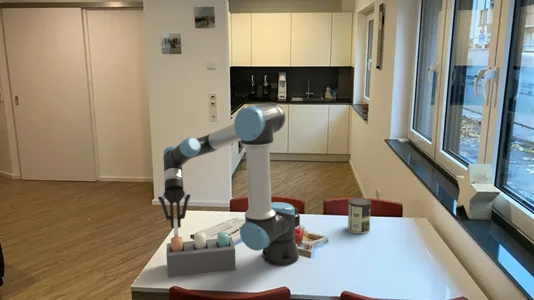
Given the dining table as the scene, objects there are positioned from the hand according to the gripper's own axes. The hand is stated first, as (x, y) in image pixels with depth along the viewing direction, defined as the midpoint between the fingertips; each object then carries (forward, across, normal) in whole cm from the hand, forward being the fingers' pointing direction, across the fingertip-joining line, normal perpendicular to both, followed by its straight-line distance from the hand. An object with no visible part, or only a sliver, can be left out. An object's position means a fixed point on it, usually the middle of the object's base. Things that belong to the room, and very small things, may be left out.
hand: (176, 235), depth 174 cm
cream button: (+5, -9, -4) cm, 11 cm away
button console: (+11, -9, -10) cm, 17 cm away
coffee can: (-4, -84, -24) cm, 87 cm away
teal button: (+5, -18, -5) cm, 19 cm away
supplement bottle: (-6, -52, -27) cm, 59 cm away
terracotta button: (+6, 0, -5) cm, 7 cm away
